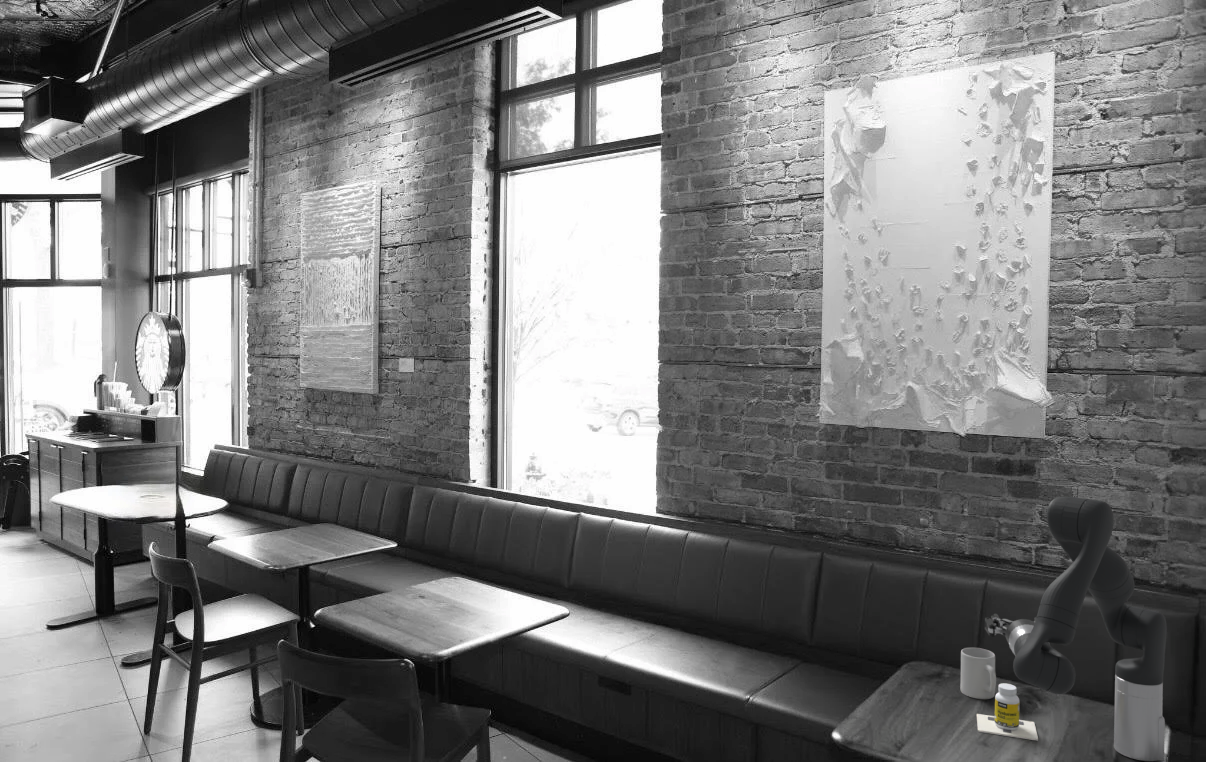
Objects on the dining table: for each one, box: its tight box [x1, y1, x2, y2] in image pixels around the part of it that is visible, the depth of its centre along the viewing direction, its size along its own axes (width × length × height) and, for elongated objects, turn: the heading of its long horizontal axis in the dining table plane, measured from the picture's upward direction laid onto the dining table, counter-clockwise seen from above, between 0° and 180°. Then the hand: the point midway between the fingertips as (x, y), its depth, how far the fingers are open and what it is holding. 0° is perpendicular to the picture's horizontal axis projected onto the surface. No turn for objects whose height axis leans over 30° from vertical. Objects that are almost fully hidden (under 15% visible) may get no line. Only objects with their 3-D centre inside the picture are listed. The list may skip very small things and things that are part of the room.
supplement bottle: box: [994, 682, 1020, 730], centre depth 206 cm, size 5×5×10 cm
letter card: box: [976, 713, 1039, 741], centre depth 207 cm, size 13×10×1 cm
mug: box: [959, 647, 997, 700], centre depth 226 cm, size 12×8×11 cm
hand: (1015, 619), depth 195 cm, fingers open, 8 cm apart
